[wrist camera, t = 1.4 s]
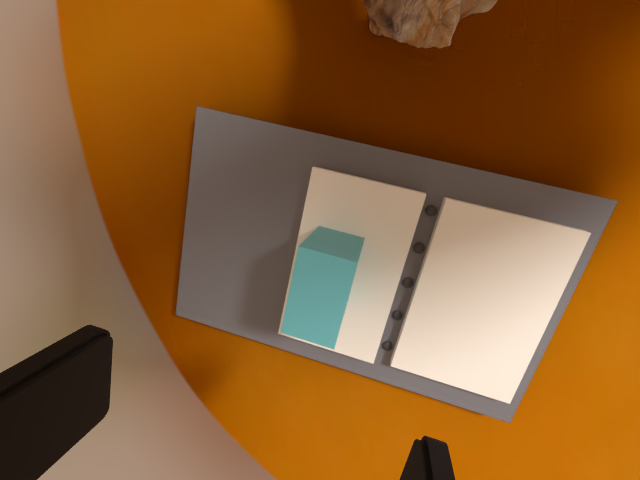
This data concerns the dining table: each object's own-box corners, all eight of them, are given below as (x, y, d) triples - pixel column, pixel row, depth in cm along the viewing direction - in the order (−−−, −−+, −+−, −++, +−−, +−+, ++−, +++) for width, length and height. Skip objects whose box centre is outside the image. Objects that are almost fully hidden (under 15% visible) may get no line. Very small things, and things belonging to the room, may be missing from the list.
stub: (425, 192, 20) (438, 206, 14) (373, 357, 23) (369, 419, 18) (315, 166, 21) (288, 170, 15) (281, 328, 24) (249, 378, 19)
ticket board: (601, 197, 20) (628, 202, 18) (502, 407, 24) (513, 432, 22) (208, 109, 23) (189, 104, 21) (186, 306, 28) (169, 319, 26)
